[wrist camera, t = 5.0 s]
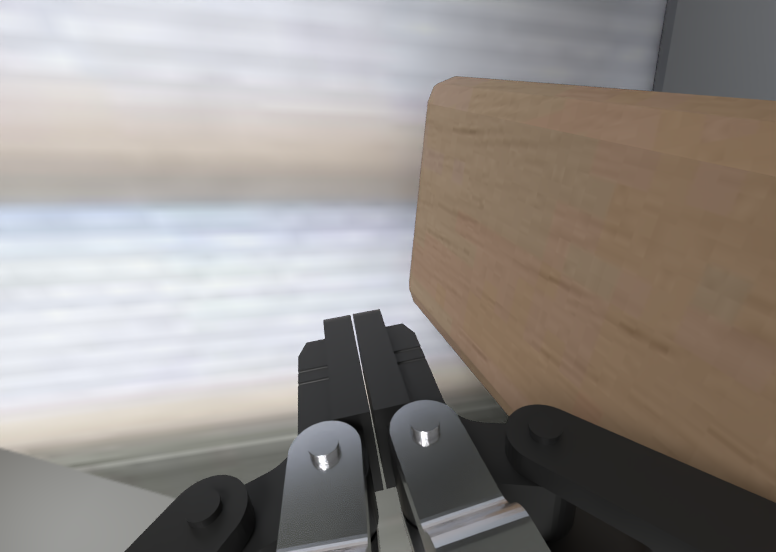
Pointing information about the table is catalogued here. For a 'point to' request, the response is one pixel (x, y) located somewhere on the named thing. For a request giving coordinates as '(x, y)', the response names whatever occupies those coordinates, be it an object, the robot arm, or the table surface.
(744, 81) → the mat
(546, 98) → the block
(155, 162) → the table surface
